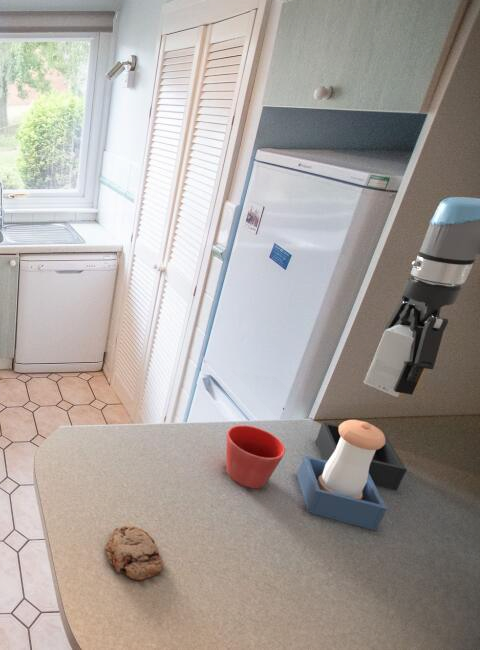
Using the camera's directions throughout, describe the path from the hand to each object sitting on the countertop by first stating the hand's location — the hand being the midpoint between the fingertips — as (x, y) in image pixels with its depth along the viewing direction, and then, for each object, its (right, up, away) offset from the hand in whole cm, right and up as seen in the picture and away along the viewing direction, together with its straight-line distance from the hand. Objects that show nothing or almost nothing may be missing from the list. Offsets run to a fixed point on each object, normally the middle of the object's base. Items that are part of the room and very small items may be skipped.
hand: (392, 379), depth 96 cm
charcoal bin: (-1, -21, +8) cm, 22 cm away
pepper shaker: (-14, -25, -2) cm, 28 cm away
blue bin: (-14, -25, -2) cm, 29 cm away
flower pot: (-28, -23, +5) cm, 36 cm away
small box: (0, -2, +1) cm, 2 cm away
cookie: (-60, -31, -13) cm, 68 cm away
